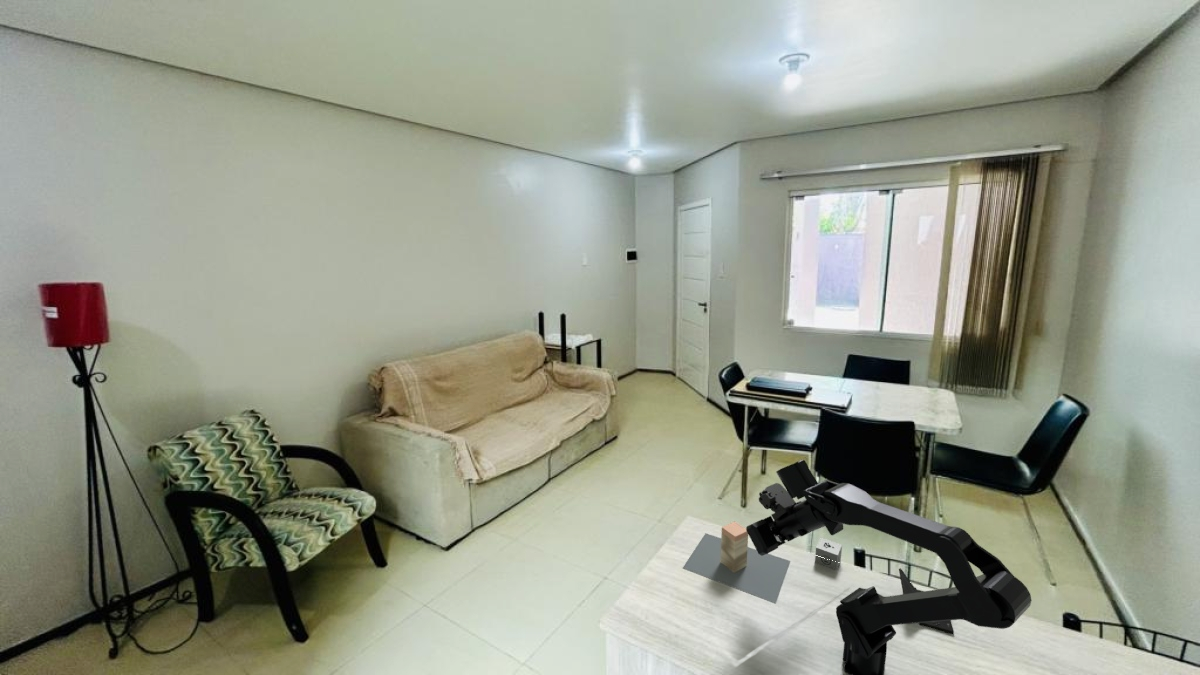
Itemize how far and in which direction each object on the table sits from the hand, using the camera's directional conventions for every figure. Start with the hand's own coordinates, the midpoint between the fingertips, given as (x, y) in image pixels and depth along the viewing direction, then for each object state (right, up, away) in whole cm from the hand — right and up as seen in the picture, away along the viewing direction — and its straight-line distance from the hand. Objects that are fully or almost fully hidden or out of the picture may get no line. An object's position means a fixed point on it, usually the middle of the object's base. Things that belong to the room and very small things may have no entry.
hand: (761, 535), depth 108 cm
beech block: (-4, -11, +10) cm, 15 cm away
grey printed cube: (+20, -12, +10) cm, 26 cm away
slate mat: (-3, -12, +9) cm, 16 cm away
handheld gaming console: (+34, -15, -5) cm, 38 cm away
